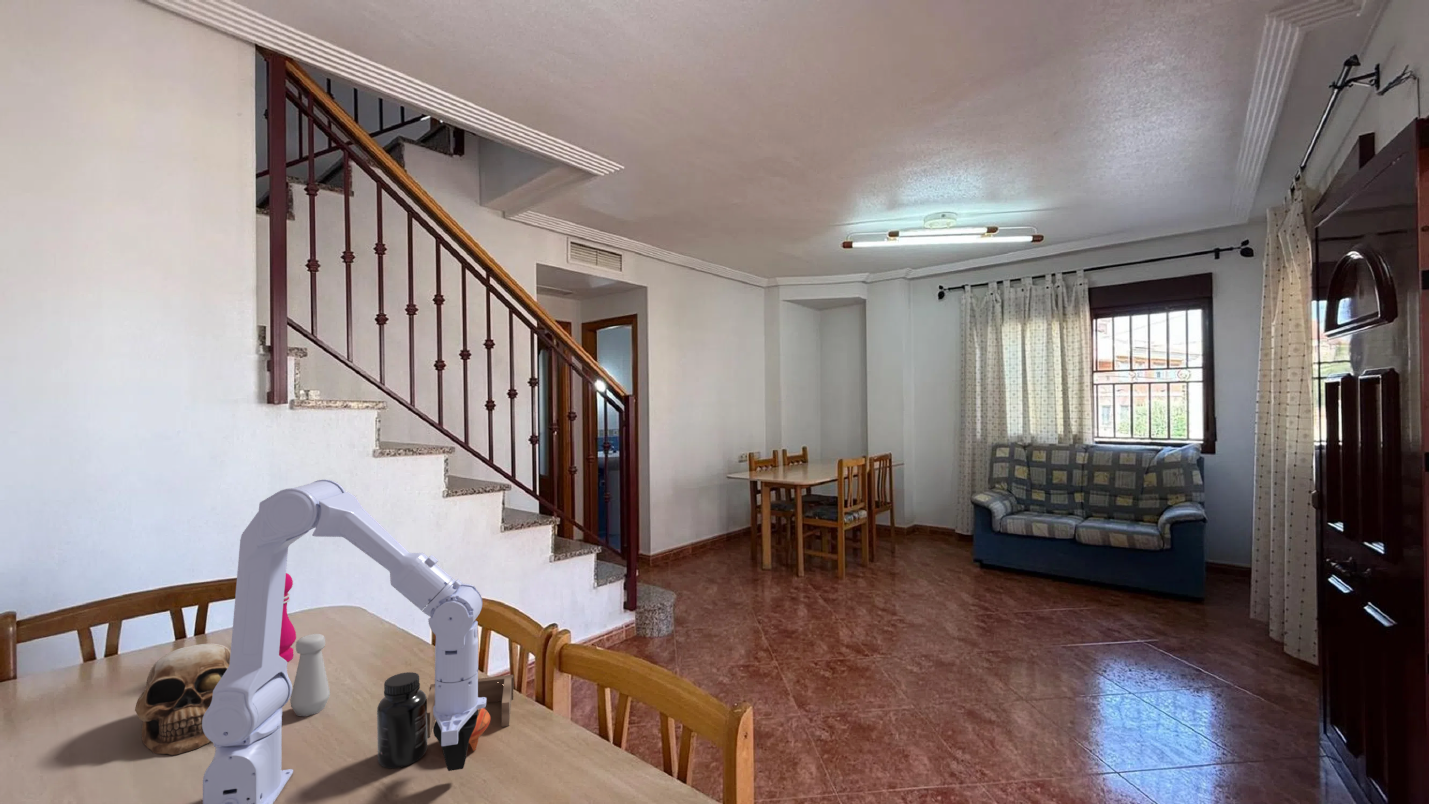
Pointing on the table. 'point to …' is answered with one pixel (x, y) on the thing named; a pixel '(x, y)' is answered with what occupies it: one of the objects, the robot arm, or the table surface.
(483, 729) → the pot
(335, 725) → the table surface
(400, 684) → the supplement bottle
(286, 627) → the pepper mill
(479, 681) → the cradle
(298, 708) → the salt shaker
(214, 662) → the skull
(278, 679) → the robot arm
